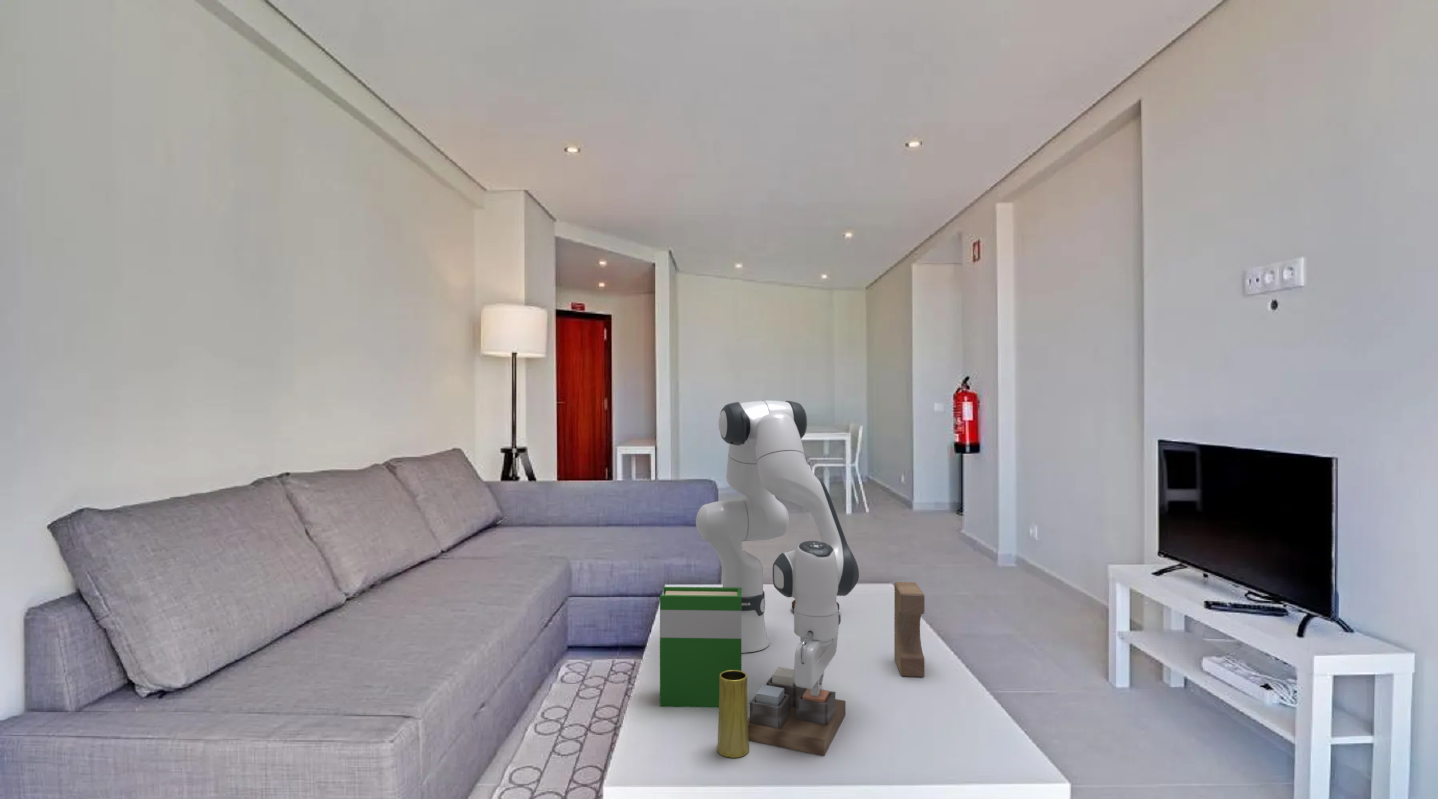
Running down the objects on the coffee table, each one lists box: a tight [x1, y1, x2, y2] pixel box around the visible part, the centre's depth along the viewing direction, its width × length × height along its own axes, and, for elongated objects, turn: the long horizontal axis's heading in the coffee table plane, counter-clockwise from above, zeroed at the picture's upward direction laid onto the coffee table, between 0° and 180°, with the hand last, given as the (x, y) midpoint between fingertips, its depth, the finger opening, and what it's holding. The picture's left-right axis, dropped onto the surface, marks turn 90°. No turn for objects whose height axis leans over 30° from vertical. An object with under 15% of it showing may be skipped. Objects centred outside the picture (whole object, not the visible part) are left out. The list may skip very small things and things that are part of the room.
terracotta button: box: [802, 689, 830, 703], centre depth 138 cm, size 4×4×3 cm
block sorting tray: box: [747, 676, 847, 757], centre depth 140 cm, size 16×18×7 cm
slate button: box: [755, 684, 784, 706], centre depth 137 cm, size 4×4×3 cm
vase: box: [716, 670, 750, 759], centre depth 131 cm, size 6×6×14 cm
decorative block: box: [893, 581, 925, 678], centre depth 170 cm, size 11×6×20 cm, turn 173°
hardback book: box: [659, 586, 742, 709], centre depth 152 cm, size 18×7×24 cm, turn 88°
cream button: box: [771, 666, 795, 687], centre depth 146 cm, size 4×4×3 cm
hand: (816, 693), depth 138 cm, fingers closed, pressing on terracotta button
